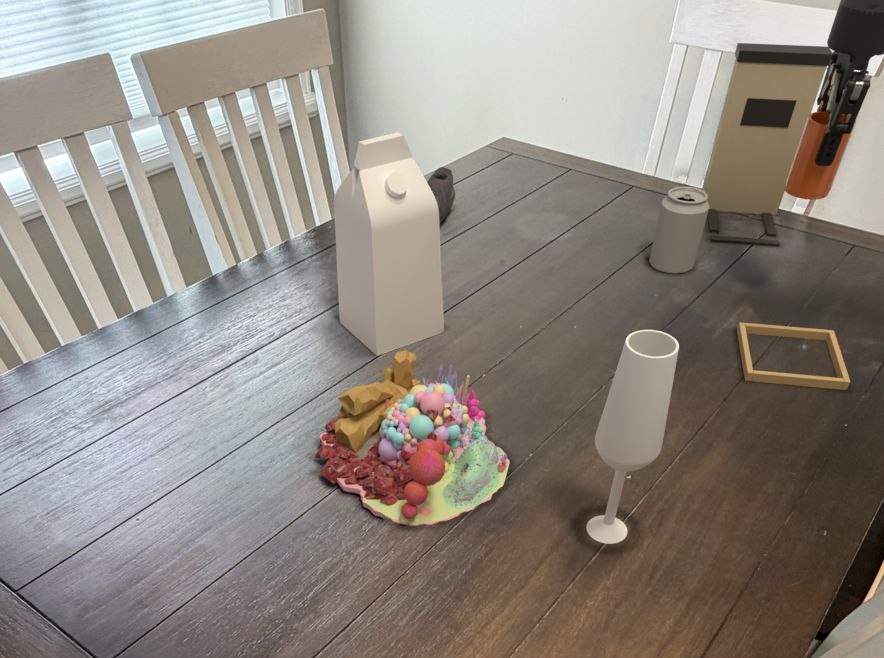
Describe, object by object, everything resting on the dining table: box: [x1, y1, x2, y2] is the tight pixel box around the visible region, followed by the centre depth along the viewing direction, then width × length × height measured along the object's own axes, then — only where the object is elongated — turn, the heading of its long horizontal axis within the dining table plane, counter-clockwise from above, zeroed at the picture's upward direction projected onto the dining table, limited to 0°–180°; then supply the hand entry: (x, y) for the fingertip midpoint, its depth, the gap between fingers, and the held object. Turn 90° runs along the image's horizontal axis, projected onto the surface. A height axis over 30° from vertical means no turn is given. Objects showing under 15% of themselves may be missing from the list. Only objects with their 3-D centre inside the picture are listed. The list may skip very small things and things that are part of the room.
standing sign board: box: [701, 42, 833, 248], centre depth 125 cm, size 15×18×26 cm
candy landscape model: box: [314, 349, 511, 527], centre depth 90 cm, size 25×24×9 cm
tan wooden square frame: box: [736, 321, 851, 391], centre depth 105 cm, size 14×14×2 cm
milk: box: [333, 132, 445, 357], centre depth 103 cm, size 12×12×26 cm
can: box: [648, 186, 709, 274], centre depth 121 cm, size 8×8×12 cm
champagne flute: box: [586, 329, 680, 545], centre depth 75 cm, size 7×7×24 cm
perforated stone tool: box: [426, 166, 456, 225], centre depth 135 cm, size 15×5×7 cm, turn 164°
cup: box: [784, 111, 857, 201], centre depth 101 cm, size 6×6×9 cm
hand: (819, 155), depth 101 cm, fingers closed on cup, 6 cm apart
